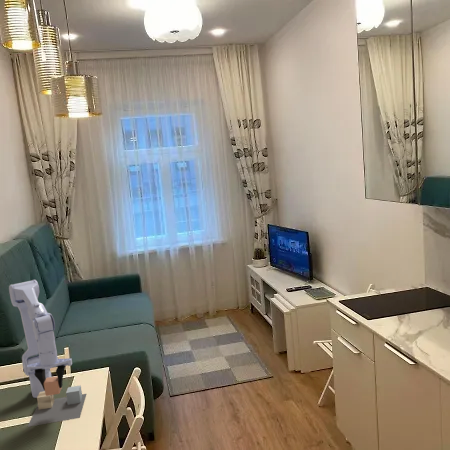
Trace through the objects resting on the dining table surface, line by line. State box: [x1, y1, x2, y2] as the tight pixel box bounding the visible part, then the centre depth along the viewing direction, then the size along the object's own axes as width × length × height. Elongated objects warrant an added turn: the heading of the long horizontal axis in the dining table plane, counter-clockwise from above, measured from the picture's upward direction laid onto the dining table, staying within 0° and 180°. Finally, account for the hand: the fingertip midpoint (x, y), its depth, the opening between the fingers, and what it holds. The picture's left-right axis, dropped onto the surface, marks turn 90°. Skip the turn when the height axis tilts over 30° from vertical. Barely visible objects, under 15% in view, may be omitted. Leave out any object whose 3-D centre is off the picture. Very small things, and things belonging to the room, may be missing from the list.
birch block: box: [36, 391, 55, 410], centre depth 173 cm, size 4×4×4 cm
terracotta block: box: [44, 375, 63, 396], centre depth 165 cm, size 4×4×4 cm
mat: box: [26, 393, 87, 428], centre depth 169 cm, size 18×17×1 cm
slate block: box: [65, 384, 83, 405], centre depth 174 cm, size 4×4×4 cm
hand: (53, 387), depth 166 cm, fingers closed on terracotta block, 4 cm apart
